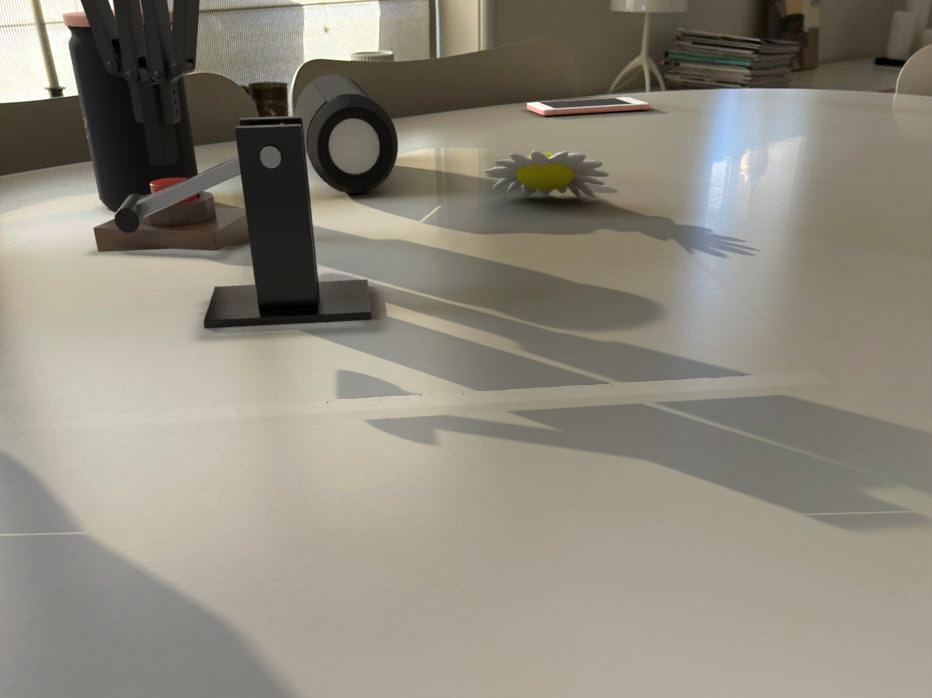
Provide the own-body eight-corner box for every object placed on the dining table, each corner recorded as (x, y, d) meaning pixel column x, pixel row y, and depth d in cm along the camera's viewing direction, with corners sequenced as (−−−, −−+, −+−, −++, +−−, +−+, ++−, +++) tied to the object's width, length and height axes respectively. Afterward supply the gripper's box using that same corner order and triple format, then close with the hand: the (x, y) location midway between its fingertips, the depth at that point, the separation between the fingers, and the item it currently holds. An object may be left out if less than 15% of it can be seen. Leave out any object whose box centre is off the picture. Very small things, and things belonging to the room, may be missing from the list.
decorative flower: (478, 186, 131) (484, 202, 104) (479, 143, 129) (486, 148, 102) (580, 190, 132) (612, 207, 105) (583, 147, 130) (617, 153, 103)
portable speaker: (403, 196, 117) (398, 94, 111) (313, 201, 115) (303, 99, 109) (374, 157, 137) (368, 70, 132) (297, 161, 136) (288, 73, 130)
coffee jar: (146, 192, 121) (114, 8, 111) (222, 199, 117) (195, 9, 107) (79, 211, 113) (37, 15, 103) (157, 219, 109) (122, 16, 99)
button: (145, 205, 97) (141, 185, 96) (165, 196, 100) (162, 176, 99) (185, 207, 96) (182, 186, 95) (204, 198, 100) (201, 178, 99)
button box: (97, 252, 98) (88, 206, 95) (149, 227, 106) (142, 184, 103) (218, 258, 95) (211, 211, 93) (261, 232, 103) (256, 188, 101)
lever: (125, 242, 74) (106, 208, 73) (136, 226, 78) (118, 194, 77) (297, 165, 73) (281, 129, 71) (299, 153, 77) (284, 119, 75)
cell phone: (650, 109, 169) (650, 103, 168) (543, 116, 165) (543, 109, 164) (628, 103, 176) (628, 96, 176) (525, 109, 172) (525, 102, 172)
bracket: (205, 337, 76) (173, 134, 69) (216, 301, 84) (188, 115, 76) (372, 328, 77) (357, 128, 70) (368, 294, 85) (355, 110, 77)
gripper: (14, -163, 82) (78, 167, 95) (169, -167, 79) (213, 173, 92) (67, -156, 88) (120, 153, 101) (212, -159, 85) (248, 158, 98)
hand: (164, 162), depth 96 cm, fingers closed
